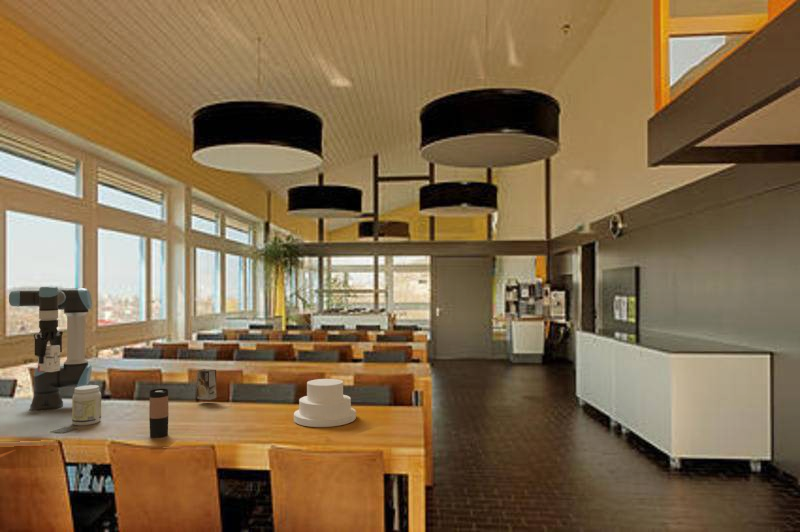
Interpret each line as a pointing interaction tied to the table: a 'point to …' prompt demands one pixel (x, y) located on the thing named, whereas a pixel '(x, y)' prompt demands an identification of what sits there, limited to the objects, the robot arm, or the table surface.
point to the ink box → (52, 358)
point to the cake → (324, 405)
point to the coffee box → (206, 384)
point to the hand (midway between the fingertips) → (48, 369)
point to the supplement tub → (86, 405)
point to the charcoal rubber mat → (64, 430)
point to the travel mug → (158, 413)
